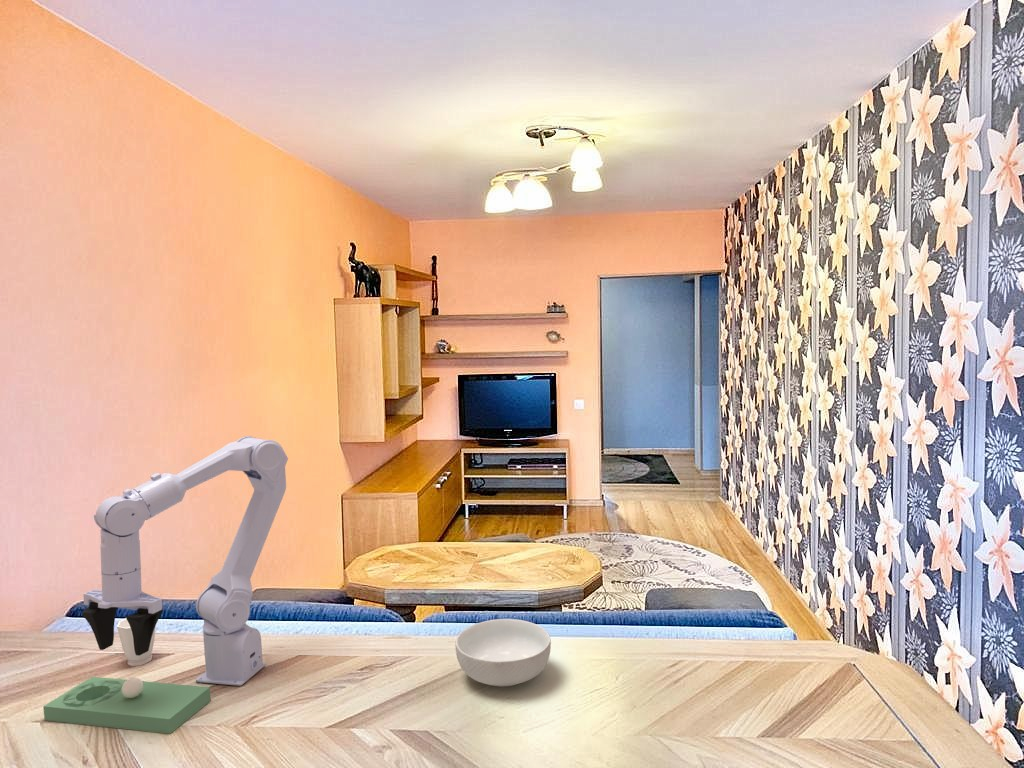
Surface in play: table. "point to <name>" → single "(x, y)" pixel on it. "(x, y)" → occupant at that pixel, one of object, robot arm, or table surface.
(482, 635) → the cereal bowl
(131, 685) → the ball
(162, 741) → the table surface
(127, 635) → the cup
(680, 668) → the table surface
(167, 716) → the putting strip
